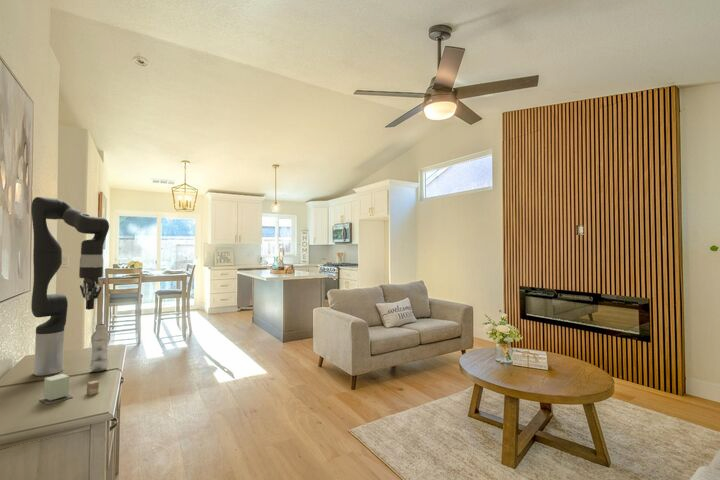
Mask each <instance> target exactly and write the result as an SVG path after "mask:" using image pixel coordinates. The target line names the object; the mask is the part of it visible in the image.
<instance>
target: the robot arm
mask: <svg viewBox="0 0 720 480" xmlns="http://www.w3.org/2000/svg"><path fill="white" fill-rule="evenodd" d="M30 208H31V211H30V213H31V219H32V231H33V249H32V250H33V255H32V258H33V259H32V261H33V264H32V265H33V284H32V285H33V287H32V293H31V302H30V303H31V304H30V305H31V313H32V315H33V316H34V317H35V318H45V317H46V318H47V317H50V318H49V319H47V320H46V321H45V322H43V323H41V324H39V325H37V326H36V327H35V338H34V340H35V343H34V344H35V345H34V365H33V376H37V377H38V376H49V375H54V374H57V373H61V372H62V371H63V368H64V367H63V365H64V347H65V328H66V327H65V326H66V323H67V315H68V304H69V303H68V298H67V296H66V295H65V294H63V293H54V294H53V293H51V294H48V288H49V284H50V282H51V281H52V279H53V277H54V276H55V274H56V273H57V272H58V271H59V269H60V268H61V266H62V263H63V261H62V260H63V256H62V255H63V254H62V253H63V249H62V247H61V245H60V243H59V242H58V241H57V240H56V238H55V237H54V236H53V235H52V233H51V231H50V230H49V227H48V225H47V224H48V223H47V220H63V222H64V223H65V224H67V225H68V226H69V227H72V228H75V229H76V231H77V232H78V233H81V234H85V235H86V234H87V235H93V237H92V238H91V239H85V240H83V241H82V242H81V244H80V258H79V273H78V276H79V277H78V278H79V279H83V282H82V284H81V285H79V290H80V292H81V295H82V298H83V299H84V300H85V309H86V310H93V309H95V301H96V299H98V297H99V295H100V293H101V292H102V288H103V287H102V286H99V279H100V278H103V277H104V275H103V273H104V257H103V256H104V255H103V254H104V243H105V240H106V237H107V235H108V233H109V230H110V223H109V221H108V219H106V218H105V217H100V216H91V215H90V214H88V213H86V212H84V211H81V210H78V209H75V207H73V206H71V205H70V204H68V202H66V201H64V200H62V199H58V198H51V197H43V196H37V197H35V198H33V200H32V202H31V207H30Z"/></svg>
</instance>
